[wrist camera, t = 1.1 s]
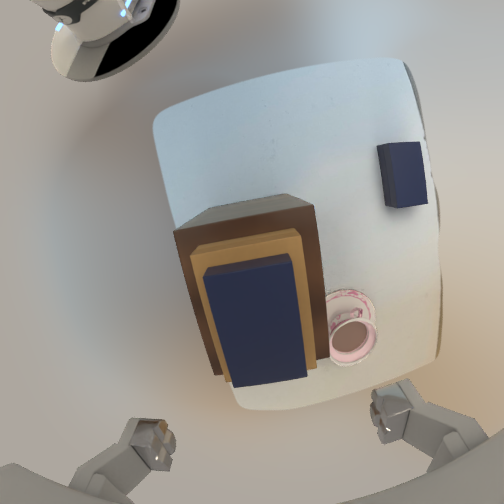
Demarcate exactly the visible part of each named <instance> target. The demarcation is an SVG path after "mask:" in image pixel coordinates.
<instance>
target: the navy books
mask: <svg viewBox="0 0 504 504" xmlns="http://www.w3.org/2000/svg"><path fill="white" fill-rule="evenodd" d="M377 150H378V156H379V162H380V168H381V175H382V182H383V189H384V197H385V205H386V206H390V207H394V208H403V207H409V206H416V205H422V204H428V200H427V189H426V180H425V172H424V165H423V158H422V151H421V146H420V142H399V143H387V144H382V145H378V146H377Z"/></svg>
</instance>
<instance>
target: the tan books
mask: <svg viewBox="0 0 504 504" xmlns="http://www.w3.org/2000/svg"><path fill="white" fill-rule="evenodd" d="M285 253H288V254H289V256H290V258H291V260H292V263H293V269H294V276H295V283H296V290H297V297H298V304H299V311H300V319H301V326H302V334H303V342H304V350H305V359H306V367H307V370H310V369H315V368H317V364H316V353H315V343H314V333H313V324H312V315H311V306H310V298H309V290H308V282H307V274H306V267H305V260H304V253H303V246H302V239H301V235H300V234H299V233H298V232H297V231H296V229H295V228H291V229H285V230H280V231H274V232H269V233H263V234H258V235H252V236H247V237H241V238H236V239H231V240H225V241H220V242H215V243H209V244H204V245H199V246H198V247H197V248H196V249H195V250H194V251H193V253H192V254H191V255H190V258H191V262H192V266H193V270H194V274H195V278H196V282H197V286H198V289H199V293H200V297H201V300H202V304H203V308H204V311H205V315H206V318H207V322H208V325H209V329H210V332H211V336H212V339H213V342H214V346H215V349H216V352H217V355H218V359H219V362H220V365H221V368H222V371H223V374H224V377H225V380H226V382H232V380H231V377H230V374H229V371H228V367H227V364H226V361H225V358H224V354H223V351H222V347H221V344H220V340H219V337H218V334H217V330H216V326H215V323H214V319H213V316H212V312H211V308H210V305H209V301H208V297H207V293H206V289H205V285H204V282H203V275H204V273H205V271H206V269H207V268H208V267H213V266H218V265H224V264H229V263H235V262H241V261H246V260H252V259H257V258H263V257H268V256H274V255H279V254H285Z"/></svg>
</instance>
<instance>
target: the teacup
mask: <svg viewBox="0 0 504 504" xmlns="http://www.w3.org/2000/svg"><path fill="white" fill-rule="evenodd" d="M325 297H326V307H327V319H328V331H329V346H330V359H331V360H332V361H333V362H334V363H335V364H337V365H339V366H352V365H355V364H357V363H359V362H361V361H363V360H364V359H365V358H366V357H367V356H368V355H369V354H370V353H371V352H372V350H373V349H374V347H375V345H376V342H377V337H378V332H377V328H376V326H375V320H376V314H375V307H374V306H373V304H372V302H371V300H370V299H369V298H368V297H367V296H365V295H364V294H363V293H361V292H358V291H355V290H339V291H336V292H333V293H330V294H328V295H327V296H325Z"/></svg>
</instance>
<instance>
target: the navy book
mask: <svg viewBox="0 0 504 504" xmlns="http://www.w3.org/2000/svg"><path fill="white" fill-rule="evenodd" d="M203 282H204V285H205V289H206V293H207V297H208V301H209V305H210V308H211V312H212V316H213V319H214V323H215V326H216V330H217V334H218V337H219V340H220V344H221V347H222V351H223V354H224V358H225V361H226V364H227V367H228V371H229V374H230V377H231V380H232V384H233V387H234V388H238V387H246V386H254V385H261V384H268V383H275V382H281V381H287V380H293V379H298V378H304V377H307V367H306V359H305V350H304V342H303V334H302V326H301V319H300V311H299V304H298V297H297V290H296V283H295V276H294V269H293V263H292V260H291V258H290V256H289V254H288V253H285V254H279V255H274V256H268V257H263V258H257V259H252V260H246V261H241V262H235V263H229V264H224V265H218V266H213V267H208V268H207V269H206V271H205V273H204V275H203Z"/></svg>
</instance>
